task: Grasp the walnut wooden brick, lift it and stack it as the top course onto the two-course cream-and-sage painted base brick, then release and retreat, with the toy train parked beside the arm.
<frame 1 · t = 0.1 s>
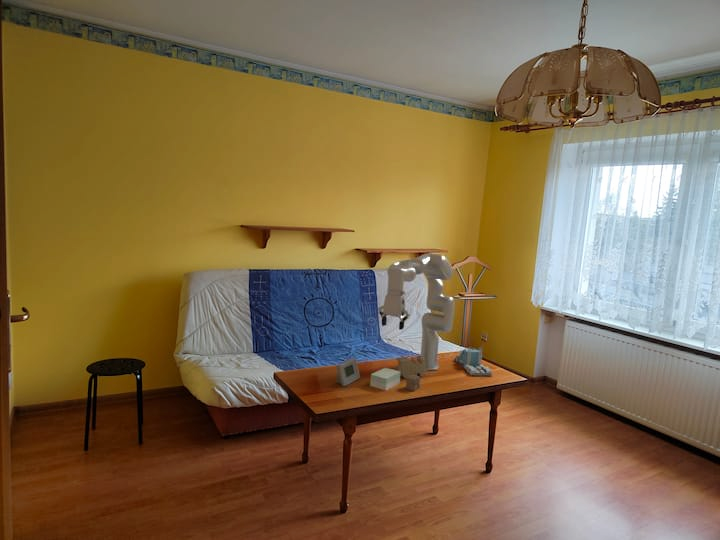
hand: (392, 327, 226), 31 cm above the table, tool pointing down, fingers open, 9 cm apart
digital clock: (348, 382, 236), on the table
truck: (471, 368, 271), on the table
base brick: (385, 384, 235), on the table
toy train: (411, 376, 250), on the table
walnut brick: (412, 388, 232), on the table
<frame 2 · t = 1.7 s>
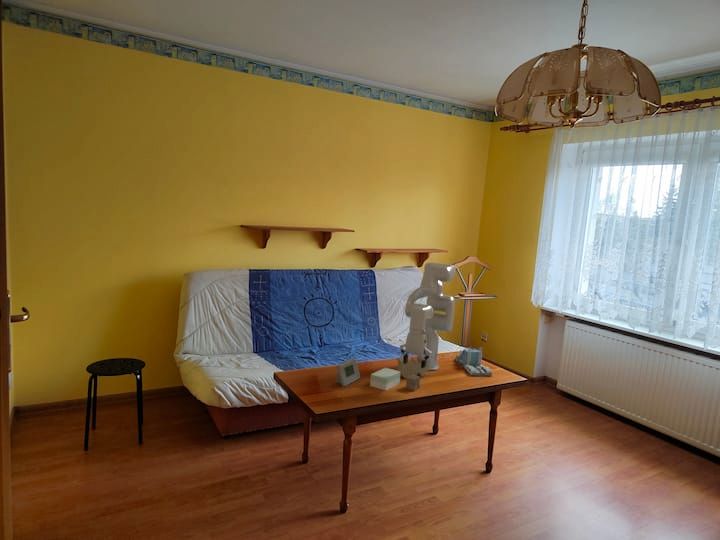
hand: (414, 365, 230), 12 cm above the table, tool pointing down, fingers open, 9 cm apart
nothing on the table moved.
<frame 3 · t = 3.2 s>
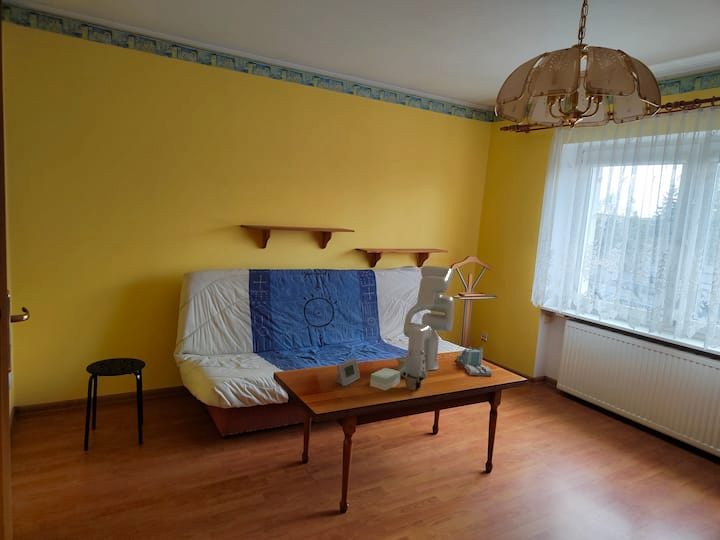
hand: (412, 387, 232), 1 cm above the table, tool pointing down, fingers closed on walnut brick, 5 cm apart
walnut brick: (412, 388, 232), on the table, touching gripper
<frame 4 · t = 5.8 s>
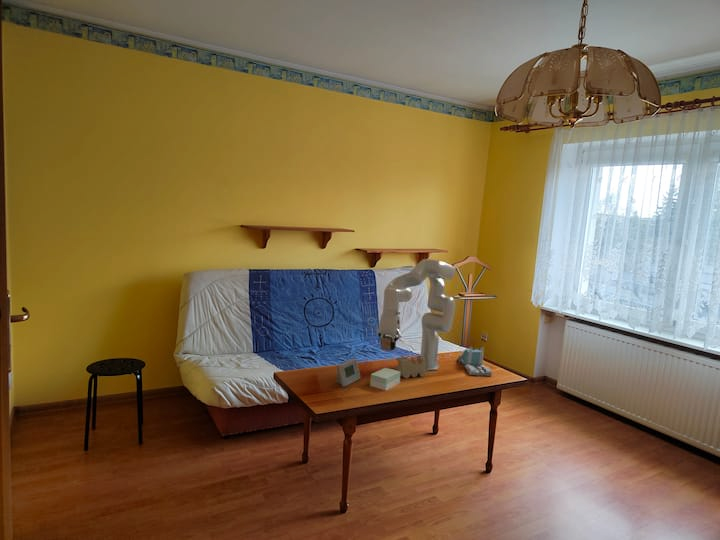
hand: (387, 347, 233), 19 cm above the table, tool pointing down, fingers closed on walnut brick, 5 cm apart
walnut brick: (387, 349, 233), point 18 cm above the table, touching gripper
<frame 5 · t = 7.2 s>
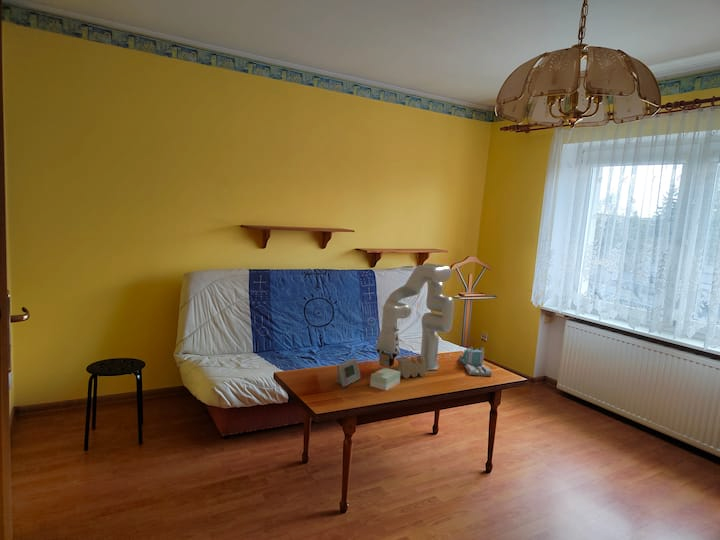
hand: (386, 364, 234), 11 cm above the table, tool pointing down, fingers closed on walnut brick, 5 cm apart
walnut brick: (386, 365, 234), point 10 cm above the table, touching gripper
when the fingers open (8 cm above the table, at t = 8.2 s): walnut brick stays where it is, resting on base brick.
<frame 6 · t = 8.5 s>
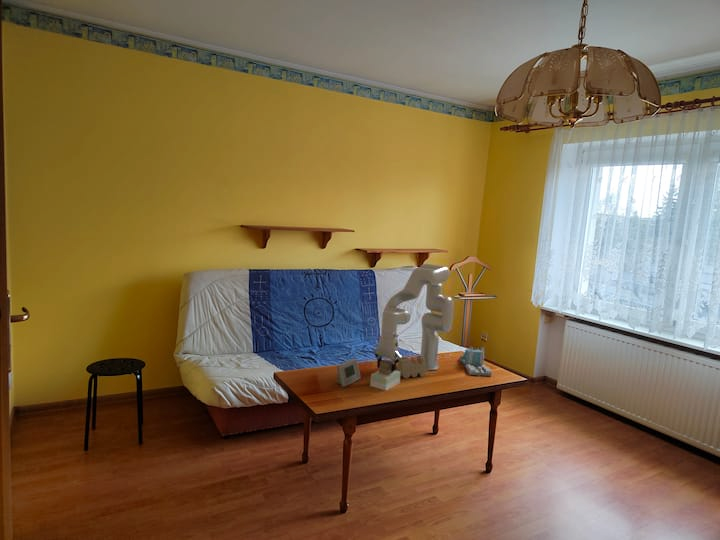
hand: (386, 369, 234), 8 cm above the table, tool pointing down, fingers open, 7 cm apart
walnut brick: (385, 372, 235), point 6 cm above the table, touching base brick
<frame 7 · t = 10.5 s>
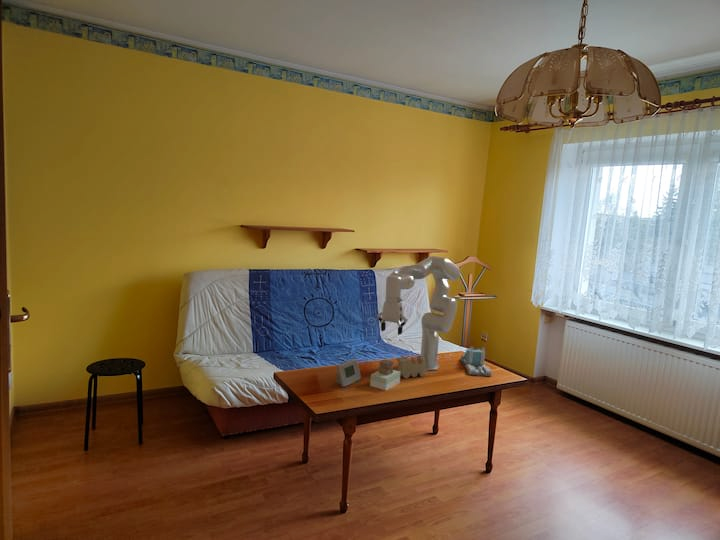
hand: (391, 332, 239), 25 cm above the table, tool pointing down, fingers open, 9 cm apart
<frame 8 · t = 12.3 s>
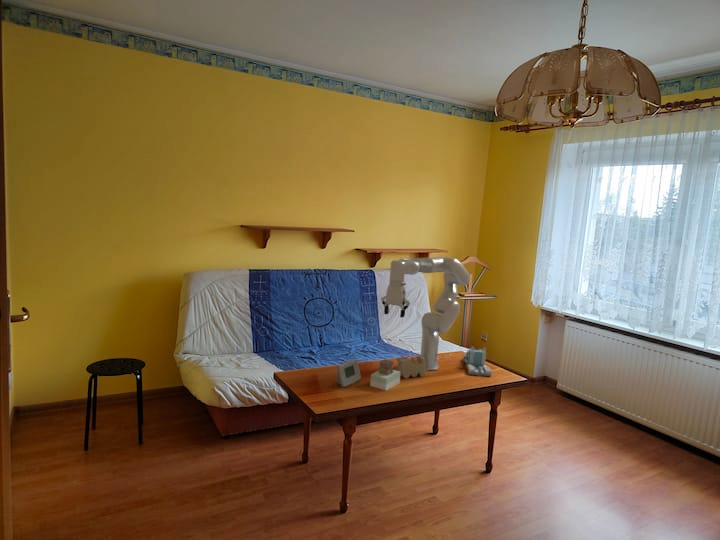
hand: (394, 315, 247), 32 cm above the table, tool pointing down, fingers open, 9 cm apart
at the end: walnut brick inside the target area on the base brick (0.0 cm from its centre), point 6.0 cm above the base brick's base; walnut brick tilted 0°; the gripper is holding nothing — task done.
